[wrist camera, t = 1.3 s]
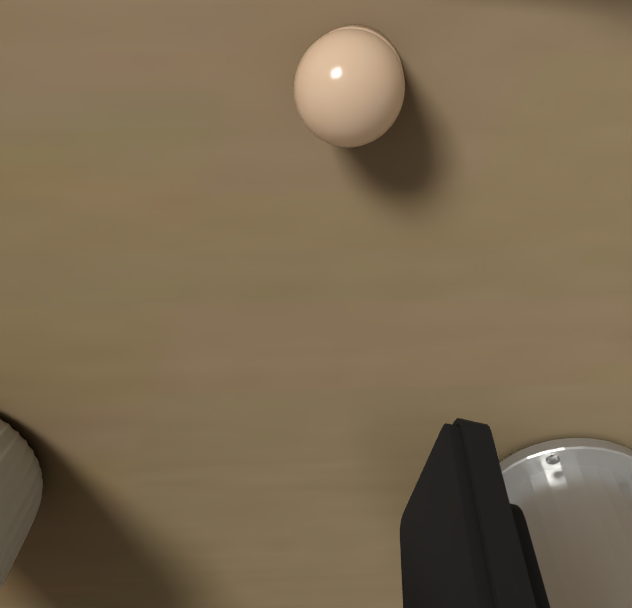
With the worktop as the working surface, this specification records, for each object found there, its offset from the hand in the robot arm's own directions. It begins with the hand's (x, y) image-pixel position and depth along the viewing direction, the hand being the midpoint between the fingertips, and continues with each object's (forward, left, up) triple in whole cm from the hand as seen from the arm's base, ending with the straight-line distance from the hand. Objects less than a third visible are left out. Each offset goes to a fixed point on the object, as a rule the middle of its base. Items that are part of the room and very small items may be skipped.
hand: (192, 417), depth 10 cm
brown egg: (-1, -4, -22) cm, 22 cm away
